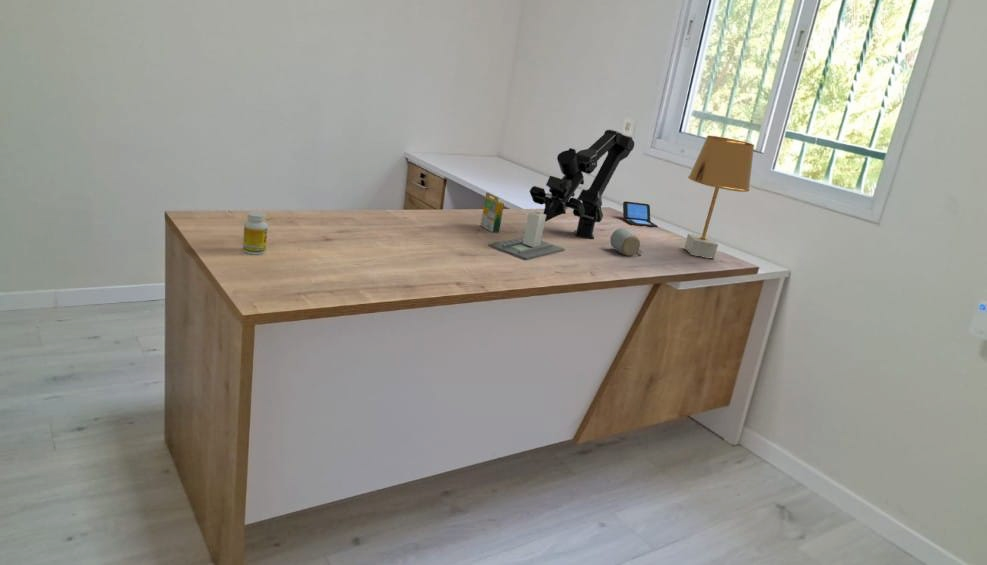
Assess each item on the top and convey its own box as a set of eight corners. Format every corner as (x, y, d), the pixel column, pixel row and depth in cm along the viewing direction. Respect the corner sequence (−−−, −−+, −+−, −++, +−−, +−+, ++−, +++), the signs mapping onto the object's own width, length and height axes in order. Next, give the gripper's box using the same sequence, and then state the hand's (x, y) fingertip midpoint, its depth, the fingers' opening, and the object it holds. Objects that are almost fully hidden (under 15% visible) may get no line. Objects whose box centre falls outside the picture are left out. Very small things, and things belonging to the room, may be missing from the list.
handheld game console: (630, 226, 272) (635, 207, 270) (618, 218, 282) (622, 200, 279) (658, 228, 276) (662, 210, 274) (645, 221, 286) (649, 203, 284)
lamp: (736, 267, 237) (771, 150, 224) (677, 257, 237) (709, 138, 224) (718, 250, 257) (750, 141, 244) (663, 241, 256) (692, 131, 243)
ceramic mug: (620, 256, 225) (626, 233, 222) (607, 248, 232) (612, 226, 229) (646, 258, 229) (653, 236, 227) (633, 250, 236) (639, 229, 234)
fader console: (528, 237, 227) (529, 234, 226) (564, 250, 220) (565, 246, 219) (488, 245, 209) (489, 242, 209) (525, 260, 202) (526, 256, 202)
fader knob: (529, 241, 218) (535, 211, 215) (540, 245, 216) (546, 214, 213) (522, 243, 215) (528, 212, 212) (533, 247, 213) (539, 215, 210)
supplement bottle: (241, 247, 170) (243, 210, 167) (263, 248, 172) (266, 211, 169) (243, 255, 165) (246, 216, 162) (267, 255, 168) (269, 217, 165)
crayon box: (499, 232, 227) (505, 198, 223) (492, 232, 225) (498, 197, 222) (487, 225, 233) (493, 192, 229) (480, 225, 231) (485, 191, 227)
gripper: (538, 160, 221) (512, 196, 216) (588, 175, 211) (562, 213, 206) (546, 183, 230) (521, 218, 224) (595, 198, 220) (570, 235, 215)
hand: (543, 220), depth 217 cm, fingers closed
